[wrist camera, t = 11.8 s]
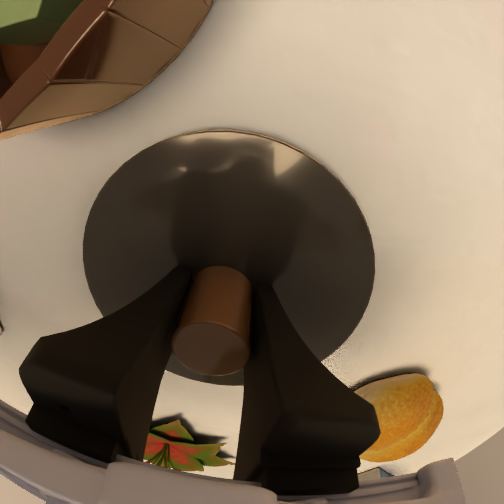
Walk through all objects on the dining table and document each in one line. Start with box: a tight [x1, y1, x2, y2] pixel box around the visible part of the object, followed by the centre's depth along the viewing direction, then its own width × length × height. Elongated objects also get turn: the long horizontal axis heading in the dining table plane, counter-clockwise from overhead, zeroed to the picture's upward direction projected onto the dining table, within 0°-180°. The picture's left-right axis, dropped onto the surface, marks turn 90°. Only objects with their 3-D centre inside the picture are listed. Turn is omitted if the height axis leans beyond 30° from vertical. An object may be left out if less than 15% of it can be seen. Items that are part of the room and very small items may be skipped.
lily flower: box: [144, 419, 234, 471], centre depth 20 cm, size 12×12×5 cm
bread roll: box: [354, 373, 443, 462], centre depth 16 cm, size 8×9×4 cm
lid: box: [83, 130, 375, 386], centre depth 11 cm, size 13×13×4 cm
